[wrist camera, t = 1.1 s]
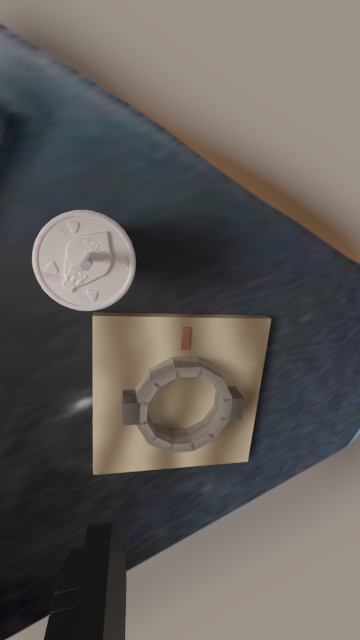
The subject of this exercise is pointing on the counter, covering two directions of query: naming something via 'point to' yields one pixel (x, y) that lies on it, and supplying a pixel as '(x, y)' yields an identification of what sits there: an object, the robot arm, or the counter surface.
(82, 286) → the smoothie
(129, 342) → the holder
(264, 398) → the counter surface
